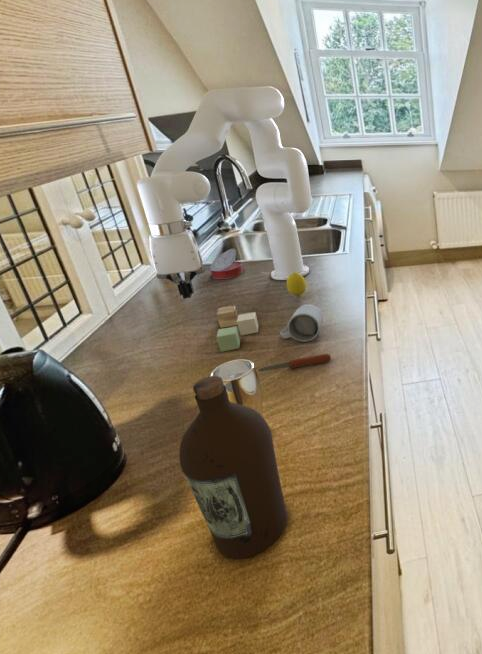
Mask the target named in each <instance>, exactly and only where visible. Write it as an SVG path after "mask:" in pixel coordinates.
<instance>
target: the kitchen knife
mask: <svg viewBox="0 0 482 654" xmlns="http://www.w3.org/2000/svg"><path fill="white" fill-rule="evenodd" d="M331 359H332V357H331V354H330V353H320V354H315V355H309V356H304V357H299V358H294V359H290V360H289V361H285V362H280V363H275V364H271V365H266V366H263V367H260V368H259V369H258V370H257V372H259V373H260V372H266V371H273V370H281V369H287V368H290V369H296V368H299V367H304V366H311V365H319V364H325V363H328V362H330V361H331Z"/></svg>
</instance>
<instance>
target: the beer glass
mask: <svg viewBox="0 0 482 654" xmlns="http://www.w3.org/2000/svg"><path fill="white" fill-rule="evenodd" d="M257 372H258V371H257V370H256V367H255V364H254V362H253V361H252V360H249V359H245V358H244V359H243V358H241V359H239V358H238V359H233V360H228V361H227V362H223V363H222V364H220V365H218V366H216V367H215V368H214V369H213V370H212V371H211V373H210V376H219V377H221V378H222V380H223V385H224V386H225V387H226V390H227V394H228V398H229V401H230V402H233V403H236V404H240V405H243V406H246V407H249V408H252V409H254V410H255V411H257V412H258V413H259V414H260V415H261V416H262V417H263V418H264V407H263V405H264V404H263V390H262V386H261V382H260V379H259V375H258V373H257ZM264 419H265V418H264Z"/></svg>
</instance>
